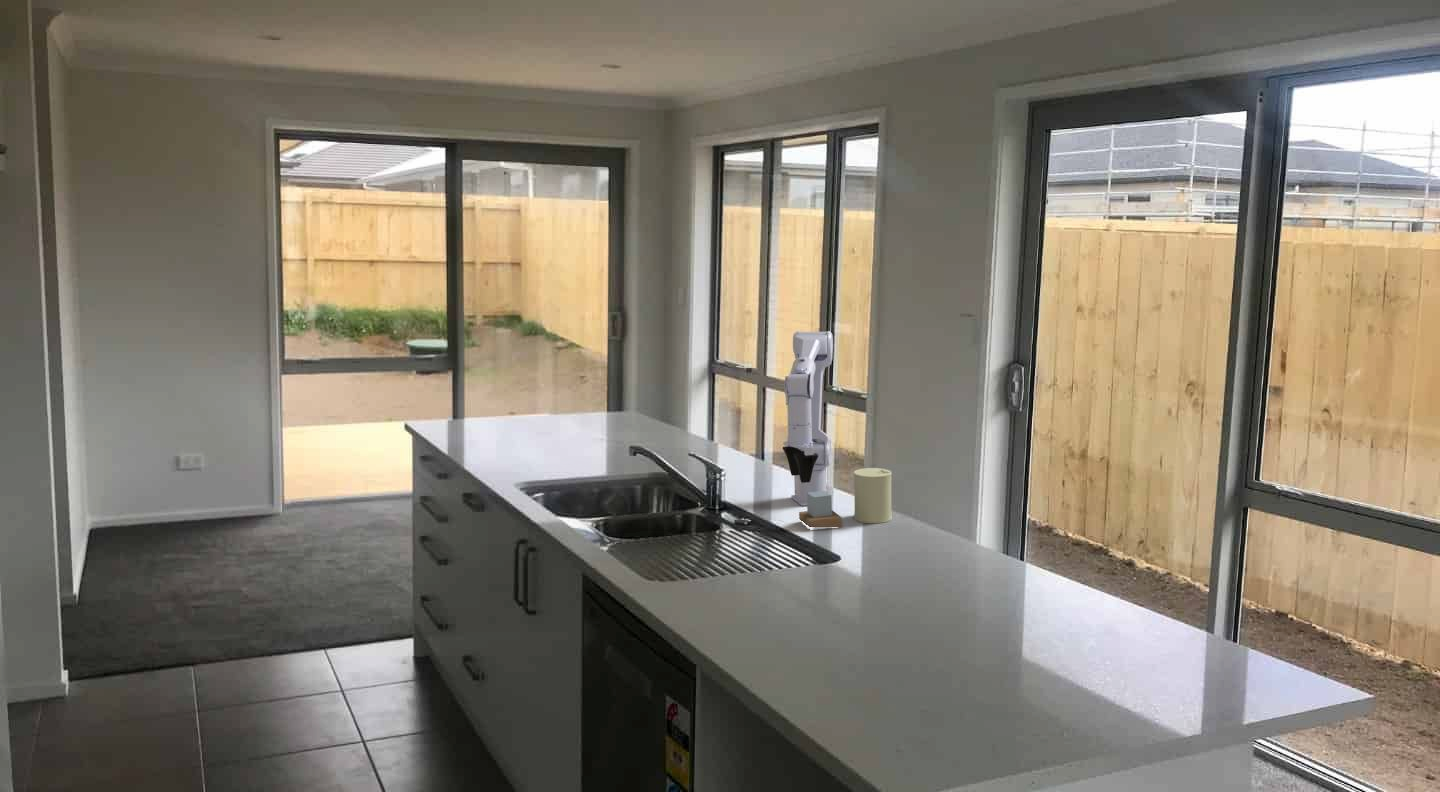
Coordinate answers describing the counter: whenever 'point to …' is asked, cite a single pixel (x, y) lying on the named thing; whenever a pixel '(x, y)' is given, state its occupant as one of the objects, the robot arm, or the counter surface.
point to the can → (872, 495)
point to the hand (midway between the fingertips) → (800, 478)
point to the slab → (821, 520)
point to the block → (819, 504)
